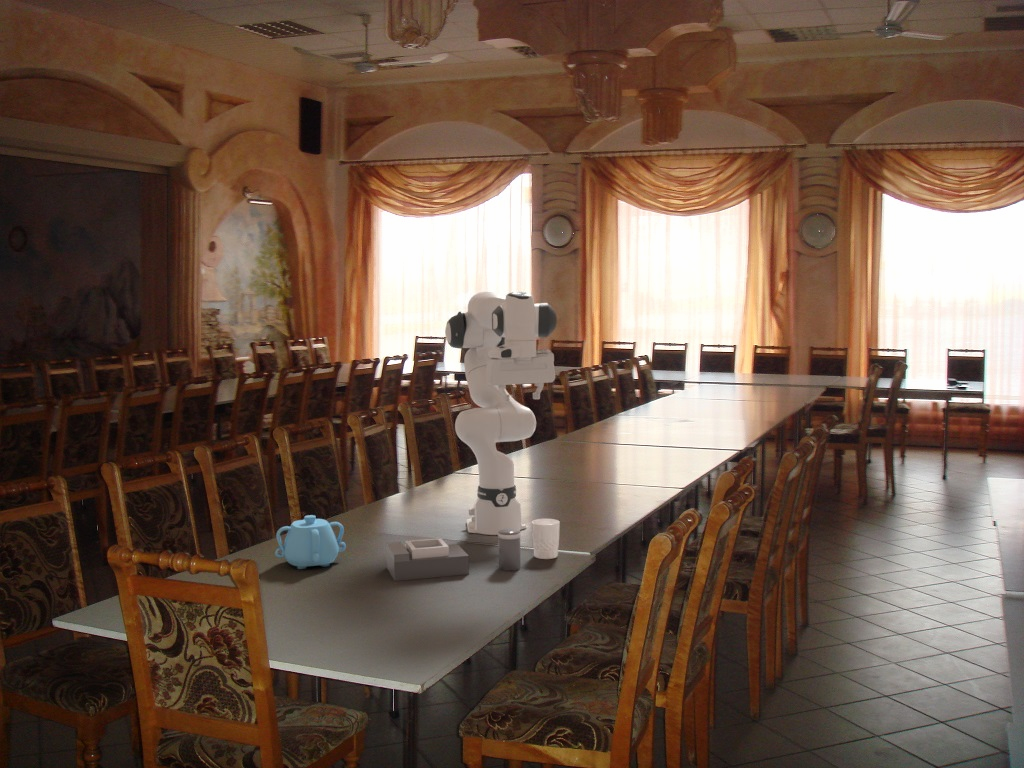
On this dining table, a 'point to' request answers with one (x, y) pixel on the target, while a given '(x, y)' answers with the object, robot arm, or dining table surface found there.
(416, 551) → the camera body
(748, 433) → the dining table surface
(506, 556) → the lens
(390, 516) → the dining table surface
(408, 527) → the dining table surface
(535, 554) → the white cup
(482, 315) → the robot arm
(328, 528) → the decorative pot
